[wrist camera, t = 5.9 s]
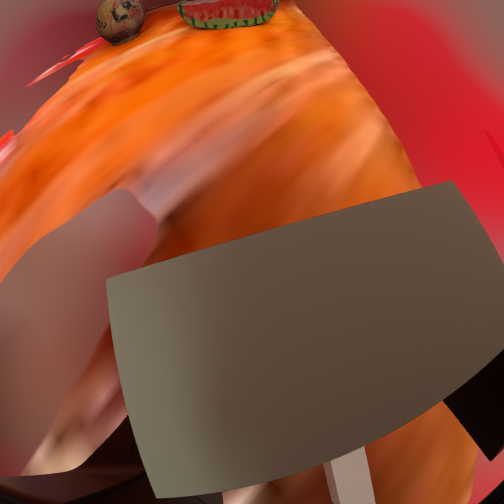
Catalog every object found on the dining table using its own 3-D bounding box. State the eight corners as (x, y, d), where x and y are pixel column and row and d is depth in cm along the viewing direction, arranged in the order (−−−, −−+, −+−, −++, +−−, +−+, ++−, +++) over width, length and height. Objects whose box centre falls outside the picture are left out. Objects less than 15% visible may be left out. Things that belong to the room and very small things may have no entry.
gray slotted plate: (326, 333, 16) (452, 180, 4) (343, 379, 14) (527, 323, 3) (226, 366, 15) (106, 278, 4) (242, 415, 14) (156, 498, 2)
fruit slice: (278, 21, 59) (277, -8, 50) (280, 27, 56) (280, -5, 47) (185, 29, 59) (180, 0, 51) (181, 35, 57) (176, 4, 48)
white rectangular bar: (359, 490, 15) (375, 505, 12) (331, 499, 15) (343, 517, 11) (308, 295, 23) (316, 277, 20) (281, 302, 23) (284, 285, 20)
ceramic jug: (118, 50, 57) (95, -34, 30) (96, 50, 62) (74, -22, 35) (163, 28, 63) (148, -49, 36) (137, 29, 67) (121, -39, 41)
